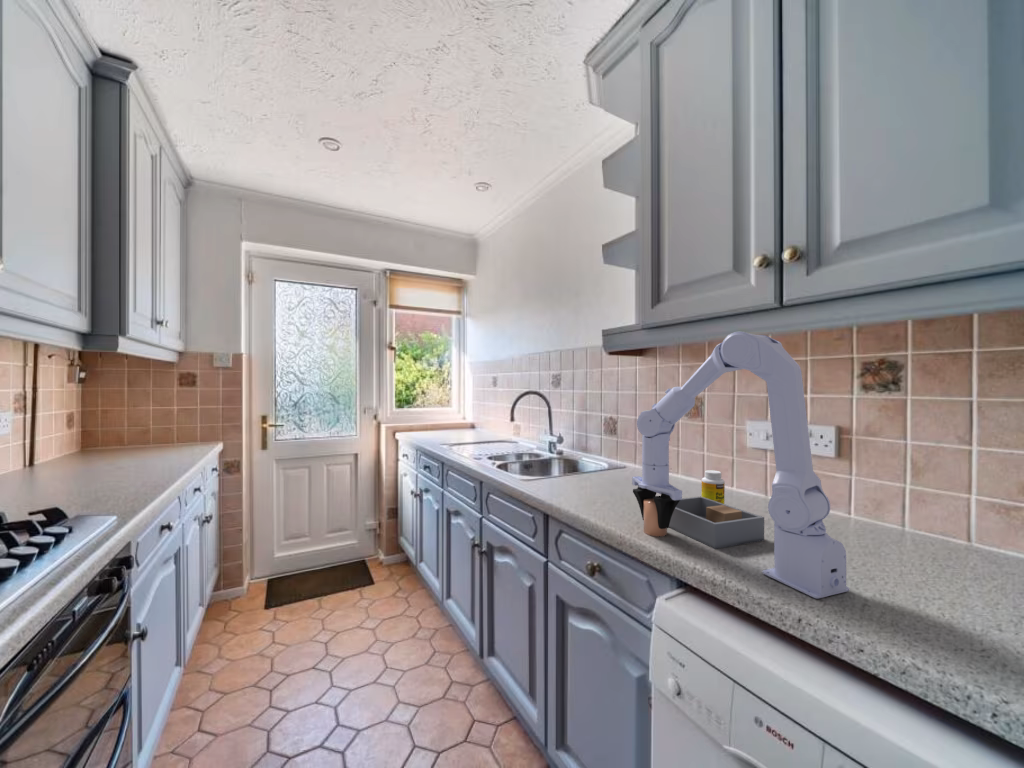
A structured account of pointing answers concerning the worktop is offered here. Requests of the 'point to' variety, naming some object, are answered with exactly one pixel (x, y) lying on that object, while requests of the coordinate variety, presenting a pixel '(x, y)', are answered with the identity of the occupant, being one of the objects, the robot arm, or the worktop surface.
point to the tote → (715, 524)
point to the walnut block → (722, 513)
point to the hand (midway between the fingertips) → (655, 523)
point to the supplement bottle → (713, 486)
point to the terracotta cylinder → (652, 519)
